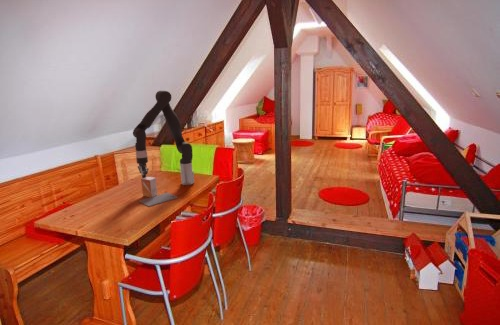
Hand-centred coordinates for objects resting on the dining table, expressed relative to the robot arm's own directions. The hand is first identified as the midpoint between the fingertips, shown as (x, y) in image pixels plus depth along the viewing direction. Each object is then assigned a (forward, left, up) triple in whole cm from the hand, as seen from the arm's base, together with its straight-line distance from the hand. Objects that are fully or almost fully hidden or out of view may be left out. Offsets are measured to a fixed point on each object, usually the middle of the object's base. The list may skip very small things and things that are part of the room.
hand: (144, 179), depth 221 cm
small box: (0, +7, -11) cm, 13 cm away
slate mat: (0, +20, -10) cm, 22 cm away
